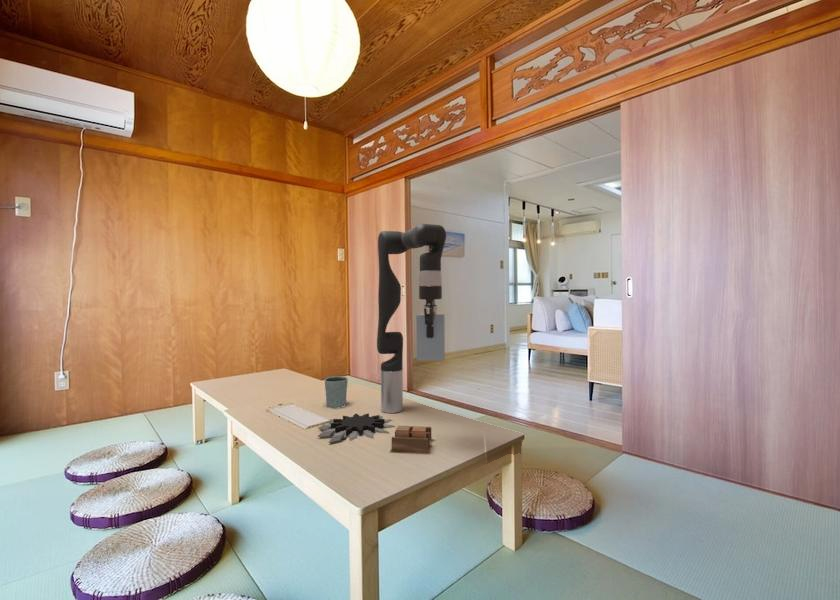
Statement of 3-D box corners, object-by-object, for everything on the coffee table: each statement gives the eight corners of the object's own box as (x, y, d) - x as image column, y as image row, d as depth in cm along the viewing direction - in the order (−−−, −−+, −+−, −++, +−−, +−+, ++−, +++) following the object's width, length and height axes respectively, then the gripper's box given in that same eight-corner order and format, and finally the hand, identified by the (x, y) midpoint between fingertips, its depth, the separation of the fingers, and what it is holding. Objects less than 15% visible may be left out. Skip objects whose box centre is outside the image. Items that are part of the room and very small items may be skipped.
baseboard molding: (300, 432, 139) (329, 424, 148) (300, 424, 139) (329, 417, 148) (265, 413, 161) (292, 408, 170) (265, 406, 161) (292, 401, 170)
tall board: (418, 358, 129) (417, 314, 129) (444, 359, 128) (444, 314, 128) (416, 360, 126) (416, 314, 126) (443, 360, 125) (443, 315, 125)
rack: (397, 442, 127) (396, 425, 127) (433, 443, 126) (432, 427, 126) (389, 457, 115) (389, 439, 115) (429, 459, 114) (428, 440, 114)
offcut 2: (413, 446, 120) (413, 427, 120) (426, 446, 119) (425, 427, 119) (411, 450, 117) (411, 430, 117) (424, 450, 116) (424, 430, 116)
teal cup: (341, 401, 178) (341, 375, 178) (352, 406, 170) (352, 378, 170) (320, 405, 171) (320, 378, 171) (331, 410, 163) (330, 382, 163)
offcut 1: (397, 445, 121) (397, 426, 121) (410, 446, 120) (410, 426, 120) (395, 449, 118) (395, 429, 118) (408, 449, 117) (408, 430, 117)
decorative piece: (296, 426, 133) (353, 404, 159) (296, 437, 133) (353, 414, 159) (364, 442, 118) (415, 416, 144) (364, 455, 118) (415, 426, 144)
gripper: (422, 285, 134) (422, 334, 135) (415, 284, 120) (416, 339, 121) (443, 285, 133) (443, 334, 133) (439, 284, 119) (439, 339, 120)
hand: (430, 336), depth 127 cm, fingers closed on tall board, 3 cm apart
